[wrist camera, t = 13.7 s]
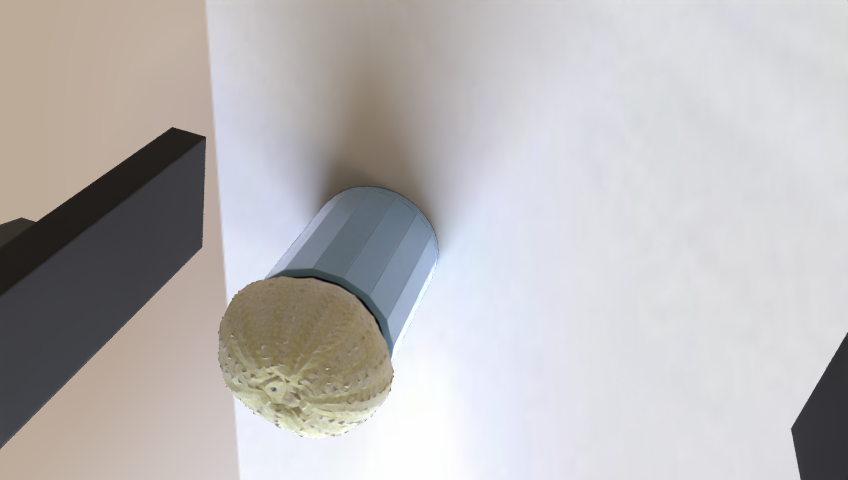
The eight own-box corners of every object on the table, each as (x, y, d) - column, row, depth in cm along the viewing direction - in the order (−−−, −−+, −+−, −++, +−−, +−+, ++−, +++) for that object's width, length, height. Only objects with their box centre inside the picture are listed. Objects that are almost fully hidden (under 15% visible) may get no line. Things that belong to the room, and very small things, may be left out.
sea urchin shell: (322, 461, 45) (199, 467, 39) (292, 334, 48) (174, 322, 43) (437, 393, 40) (317, 389, 34) (394, 259, 44) (278, 234, 38)
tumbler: (449, 207, 49) (404, 296, 40) (425, 313, 53) (380, 412, 45) (323, 170, 50) (253, 250, 41) (310, 277, 54) (244, 368, 46)
